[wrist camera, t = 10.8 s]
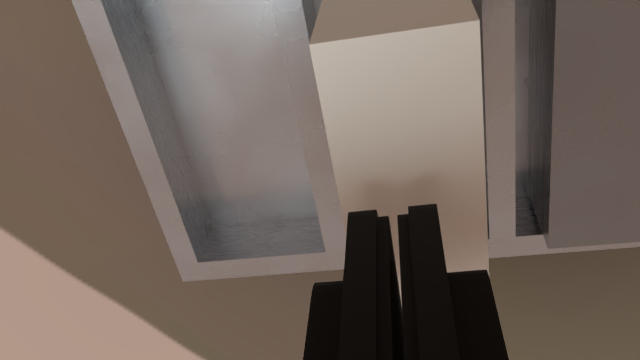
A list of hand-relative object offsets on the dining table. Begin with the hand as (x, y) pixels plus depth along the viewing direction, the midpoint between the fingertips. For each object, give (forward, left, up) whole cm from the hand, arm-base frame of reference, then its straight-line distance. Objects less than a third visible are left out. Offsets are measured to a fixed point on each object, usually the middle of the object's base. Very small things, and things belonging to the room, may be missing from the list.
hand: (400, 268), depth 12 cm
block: (0, 0, -8) cm, 8 cm away
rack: (0, 0, -9) cm, 9 cm away
